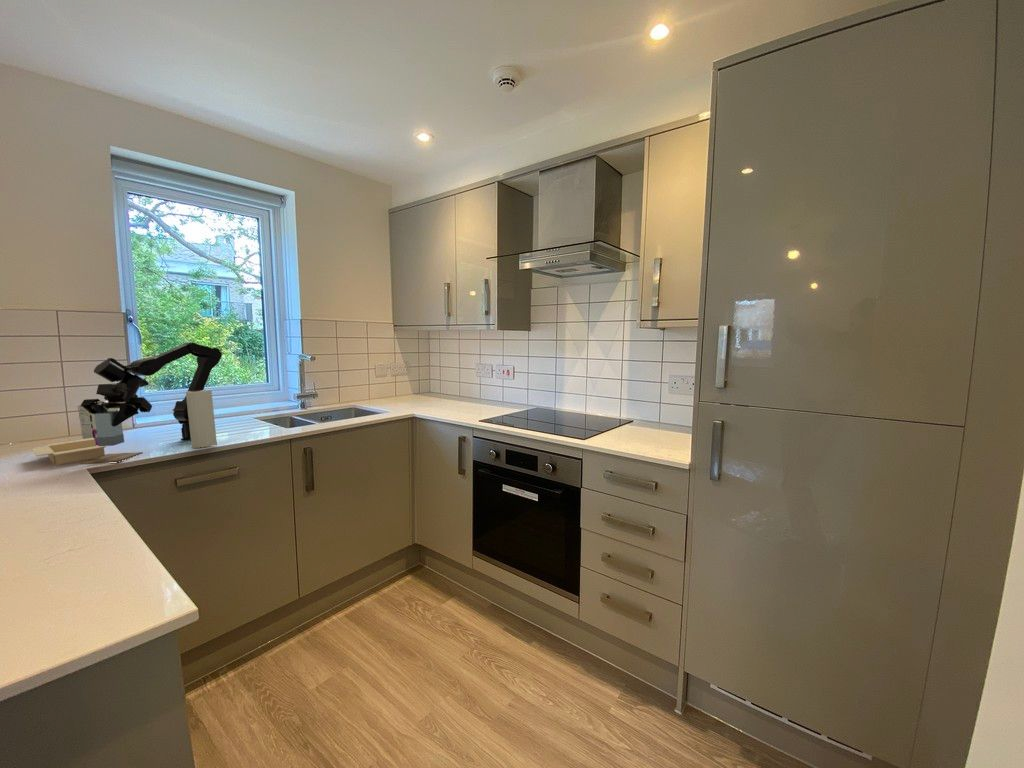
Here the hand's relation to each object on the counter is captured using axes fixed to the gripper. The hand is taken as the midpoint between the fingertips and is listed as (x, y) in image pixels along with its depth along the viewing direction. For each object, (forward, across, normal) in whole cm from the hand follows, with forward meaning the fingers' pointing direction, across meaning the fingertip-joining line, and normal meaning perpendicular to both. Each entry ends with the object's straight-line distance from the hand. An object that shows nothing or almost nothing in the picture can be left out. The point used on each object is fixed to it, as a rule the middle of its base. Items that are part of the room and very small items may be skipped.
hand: (105, 426), depth 140 cm
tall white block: (-1, +21, +19) cm, 28 cm away
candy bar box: (-12, -24, +29) cm, 39 cm away
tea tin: (+4, 0, +6) cm, 7 cm away
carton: (+3, -14, +13) cm, 20 cm away
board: (+8, 0, +9) cm, 12 cm away
